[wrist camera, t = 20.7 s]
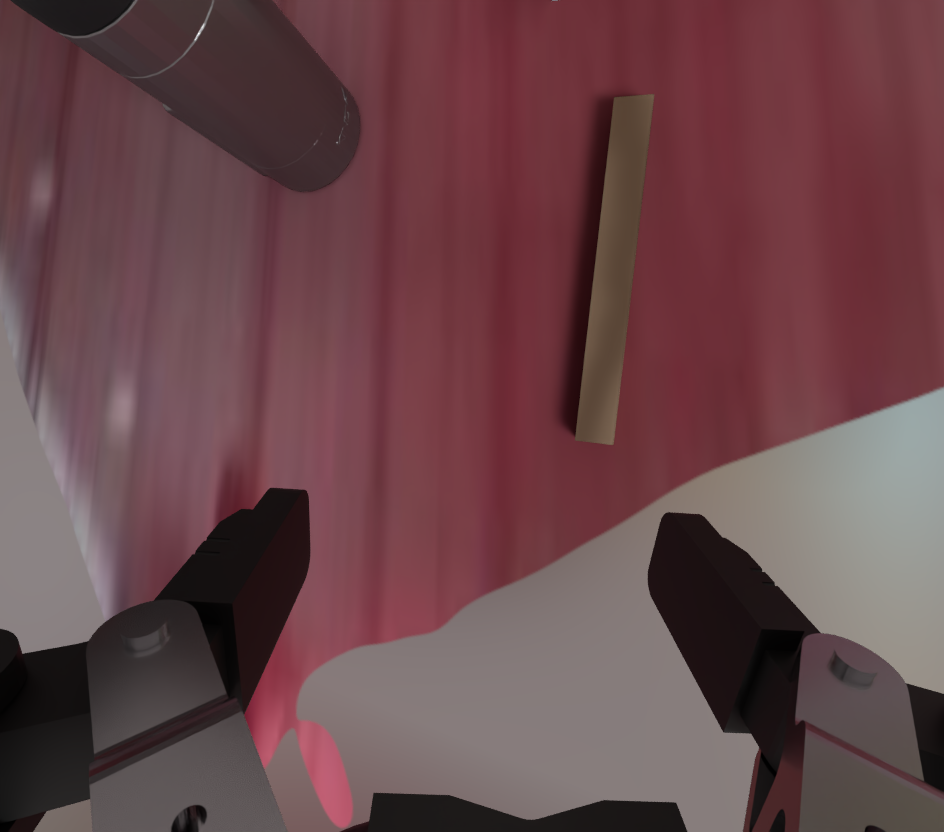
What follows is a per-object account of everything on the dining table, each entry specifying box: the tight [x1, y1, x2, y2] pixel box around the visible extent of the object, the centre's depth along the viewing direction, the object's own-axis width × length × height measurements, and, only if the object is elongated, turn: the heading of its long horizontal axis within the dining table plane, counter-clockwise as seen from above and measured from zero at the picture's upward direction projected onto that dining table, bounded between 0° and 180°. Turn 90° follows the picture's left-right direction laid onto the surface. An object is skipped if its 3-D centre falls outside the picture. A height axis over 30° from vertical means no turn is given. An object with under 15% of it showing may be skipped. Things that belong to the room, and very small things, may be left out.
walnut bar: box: [575, 94, 654, 445], centre depth 32 cm, size 2×22×2 cm, turn 174°
